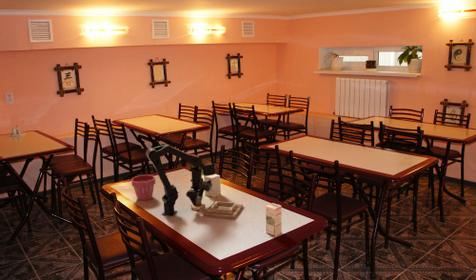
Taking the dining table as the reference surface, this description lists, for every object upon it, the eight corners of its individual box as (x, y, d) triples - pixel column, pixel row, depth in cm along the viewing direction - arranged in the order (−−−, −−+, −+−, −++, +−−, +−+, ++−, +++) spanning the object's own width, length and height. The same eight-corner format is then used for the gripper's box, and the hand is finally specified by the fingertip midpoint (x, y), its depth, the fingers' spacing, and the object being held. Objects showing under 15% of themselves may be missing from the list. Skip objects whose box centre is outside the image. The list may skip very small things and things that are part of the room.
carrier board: (234, 219, 230) (234, 213, 230) (202, 216, 235) (202, 210, 234) (243, 207, 247) (243, 201, 246) (213, 204, 252) (213, 199, 251)
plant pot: (140, 203, 257) (138, 183, 254) (128, 197, 267) (127, 178, 264) (160, 197, 266) (159, 178, 263) (149, 192, 276) (147, 173, 273)
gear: (202, 211, 242) (201, 200, 241) (188, 210, 245) (188, 199, 243) (207, 206, 250) (206, 195, 249) (194, 204, 252) (193, 194, 251)
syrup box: (282, 232, 213) (282, 205, 210) (274, 236, 209) (274, 208, 205) (272, 229, 217) (272, 202, 213) (265, 233, 212) (265, 205, 209)
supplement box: (221, 194, 269) (220, 175, 266) (212, 197, 264) (211, 178, 261) (213, 191, 274) (212, 173, 271) (204, 195, 269) (203, 175, 266)
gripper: (204, 183, 232) (205, 210, 236) (215, 173, 250) (216, 198, 253) (185, 182, 235) (186, 208, 239) (197, 172, 253) (198, 197, 256)
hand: (197, 203), depth 247 cm, fingers open, 9 cm apart
